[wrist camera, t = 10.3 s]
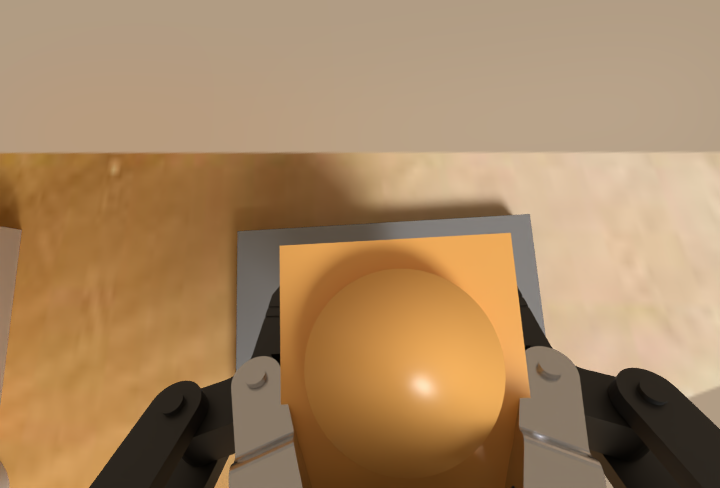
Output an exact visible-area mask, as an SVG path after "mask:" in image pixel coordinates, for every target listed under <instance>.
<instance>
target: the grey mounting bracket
mask: <svg viewBox="0 0 720 488" xmlns="http://www.w3.org/2000/svg"><path fill="white" fill-rule="evenodd" d="M0 488H9V479H8V475H7V472H6V470H5V468H4V466H3V464H2V463H1V462H0Z"/></svg>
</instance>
